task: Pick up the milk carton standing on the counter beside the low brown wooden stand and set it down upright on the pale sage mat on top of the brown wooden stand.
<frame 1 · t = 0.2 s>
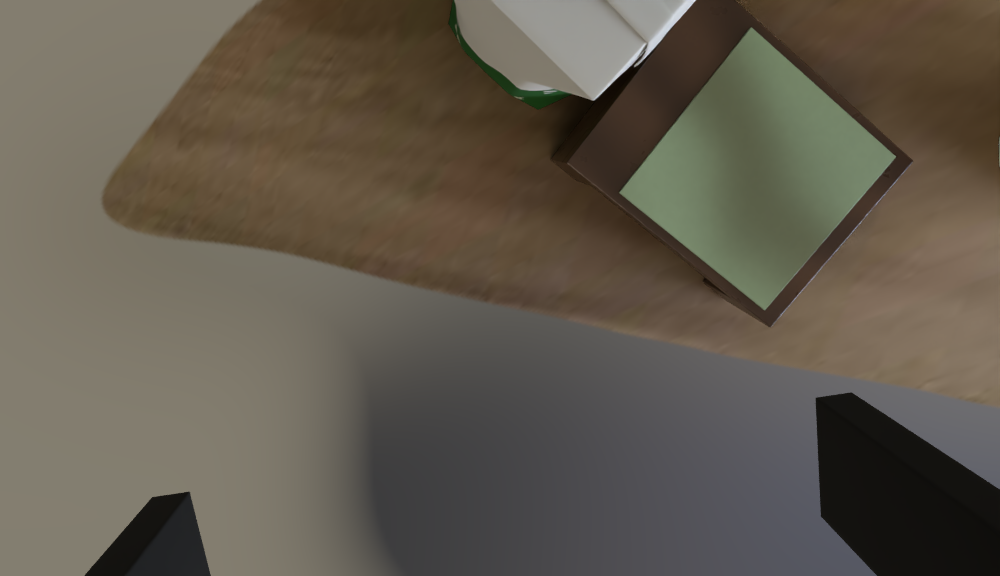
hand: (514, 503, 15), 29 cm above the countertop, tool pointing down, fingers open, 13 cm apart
milk carton: (534, 20, 40), on the countertop
brown wooden stand: (700, 158, 42), on the countertop
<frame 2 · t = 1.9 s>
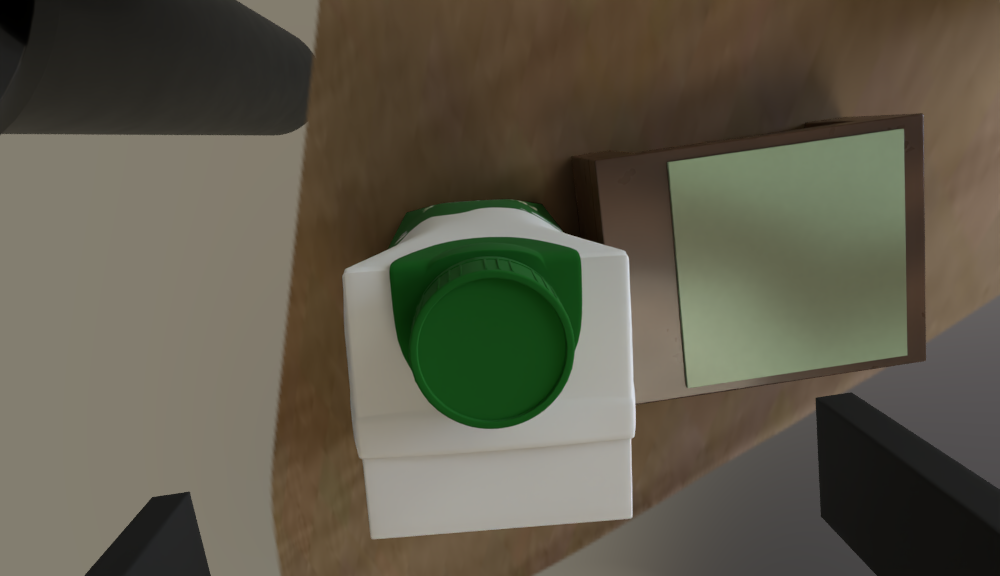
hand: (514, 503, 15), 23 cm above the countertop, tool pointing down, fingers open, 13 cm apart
milk carton: (478, 277, 37), on the countertop
brown wooden stand: (715, 243, 37), on the countertop
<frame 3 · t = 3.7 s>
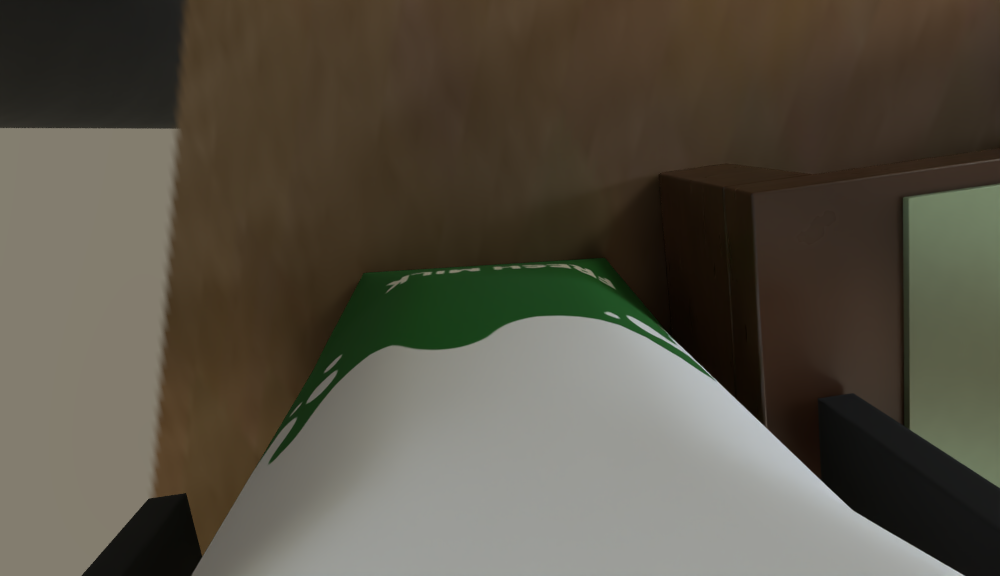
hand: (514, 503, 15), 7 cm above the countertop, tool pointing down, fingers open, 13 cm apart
milk carton: (491, 381, 21), on the countertop
brown wooden stand: (900, 323, 21), on the countertop
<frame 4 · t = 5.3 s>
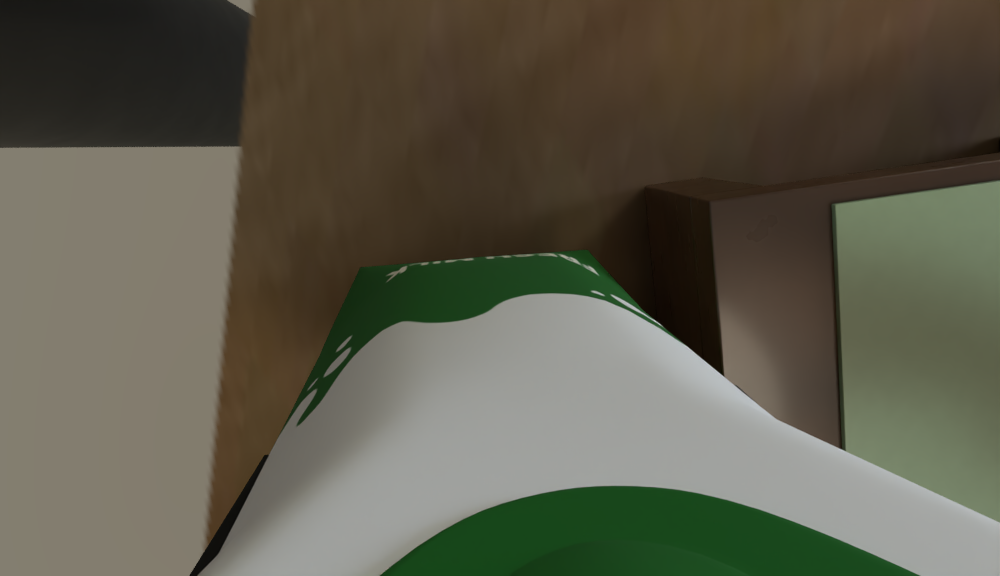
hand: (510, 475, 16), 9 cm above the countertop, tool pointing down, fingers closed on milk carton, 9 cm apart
milk carton: (481, 368, 23), point 2 cm above the countertop, touching gripper
brown wooden stand: (857, 315, 25), on the countertop
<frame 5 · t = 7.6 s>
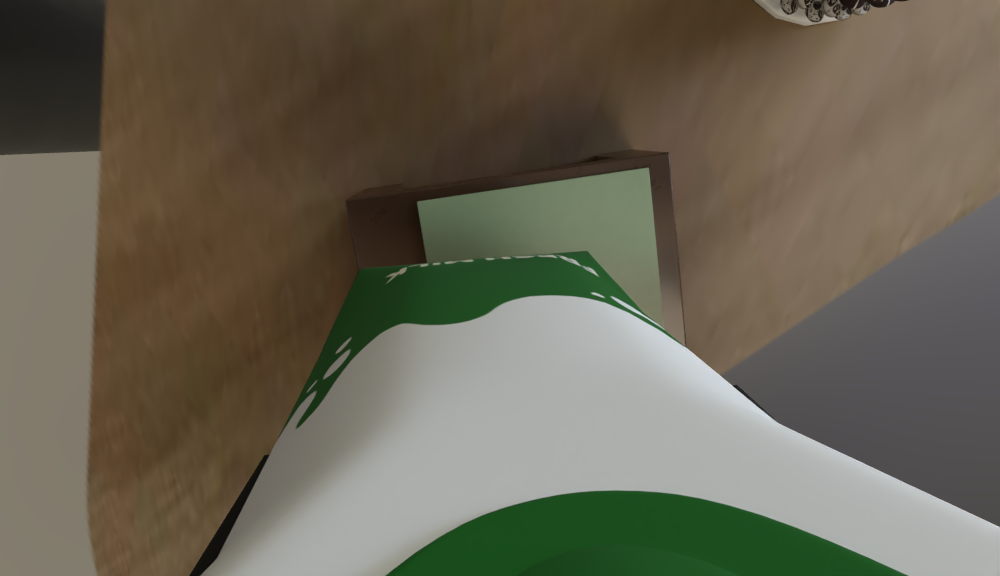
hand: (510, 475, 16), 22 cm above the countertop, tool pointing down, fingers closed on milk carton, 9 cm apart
milk carton: (481, 370, 23), point 16 cm above the countertop, touching gripper
brown wooden stand: (514, 272, 38), on the countertop
when the fingers open (13 cm above the countertop, at t = 10.2 s): milk carton stays where it is, resting on brown wooden stand.
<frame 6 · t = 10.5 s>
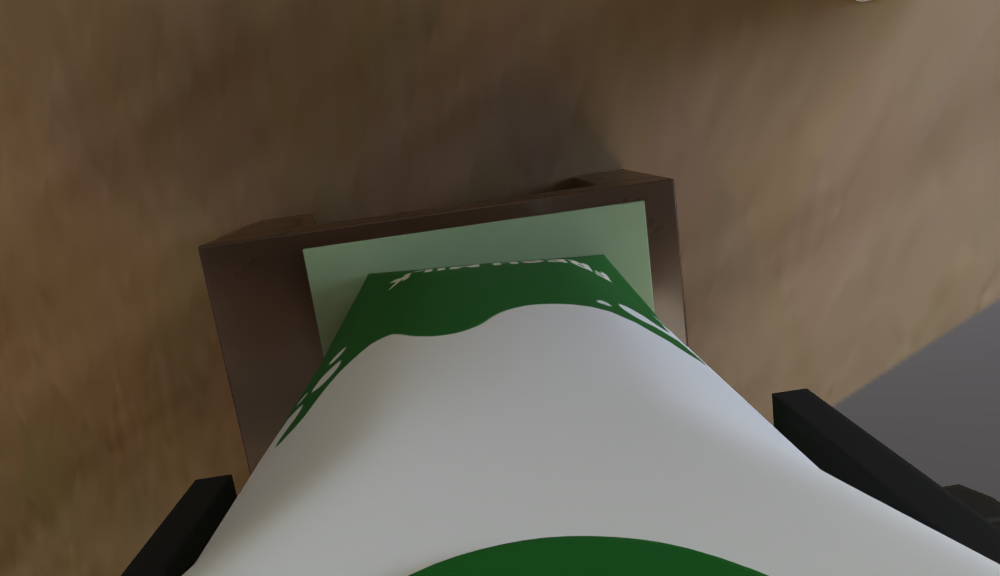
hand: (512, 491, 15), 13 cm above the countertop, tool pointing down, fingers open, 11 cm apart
milk carton: (495, 378, 22), point 7 cm above the countertop, touching brown wooden stand
brown wooden stand: (464, 333, 28), on the countertop
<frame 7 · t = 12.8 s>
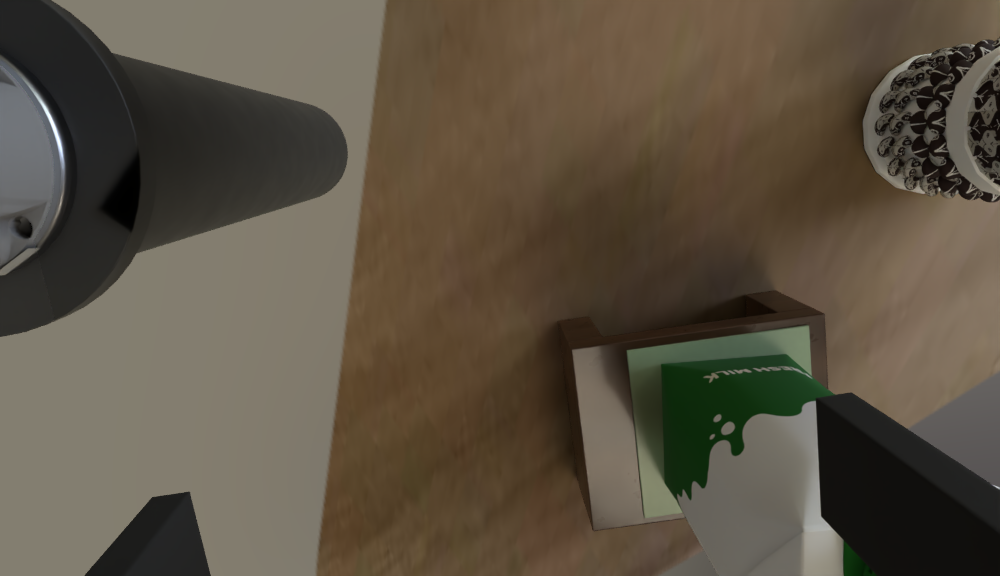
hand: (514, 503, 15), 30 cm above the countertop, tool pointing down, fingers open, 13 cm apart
milk carton: (722, 419, 40), point 7 cm above the countertop, touching brown wooden stand
brown wooden stand: (674, 387, 46), on the countertop
white patterned cylinder: (927, 124, 44), on the countertop
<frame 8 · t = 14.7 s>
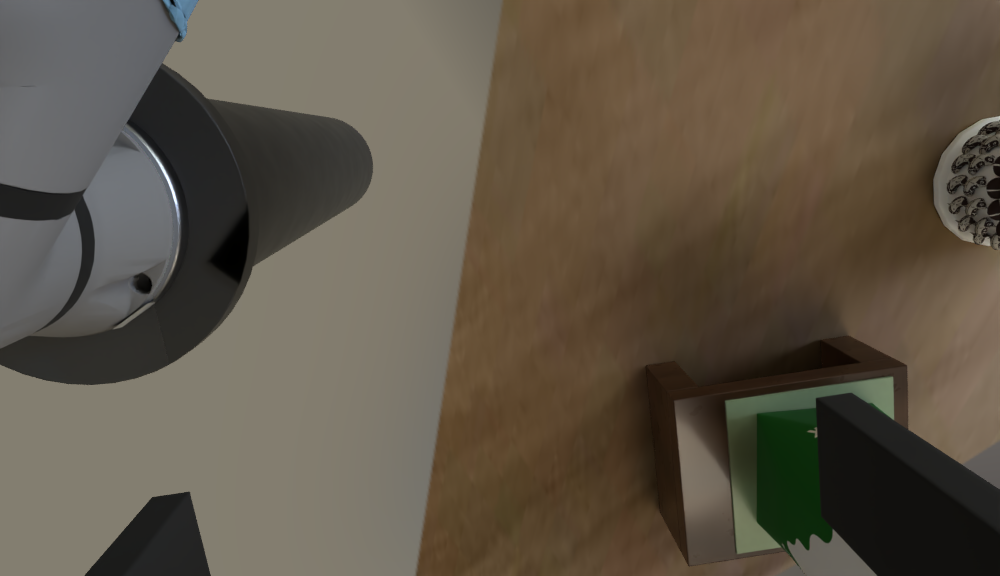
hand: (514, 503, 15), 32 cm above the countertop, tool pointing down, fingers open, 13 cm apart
milk carton: (811, 462, 43), point 7 cm above the countertop, touching brown wooden stand
brown wooden stand: (752, 425, 49), on the countertop
white patterned cylinder: (992, 181, 47), on the countertop
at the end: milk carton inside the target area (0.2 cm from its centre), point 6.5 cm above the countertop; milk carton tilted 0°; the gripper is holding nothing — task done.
